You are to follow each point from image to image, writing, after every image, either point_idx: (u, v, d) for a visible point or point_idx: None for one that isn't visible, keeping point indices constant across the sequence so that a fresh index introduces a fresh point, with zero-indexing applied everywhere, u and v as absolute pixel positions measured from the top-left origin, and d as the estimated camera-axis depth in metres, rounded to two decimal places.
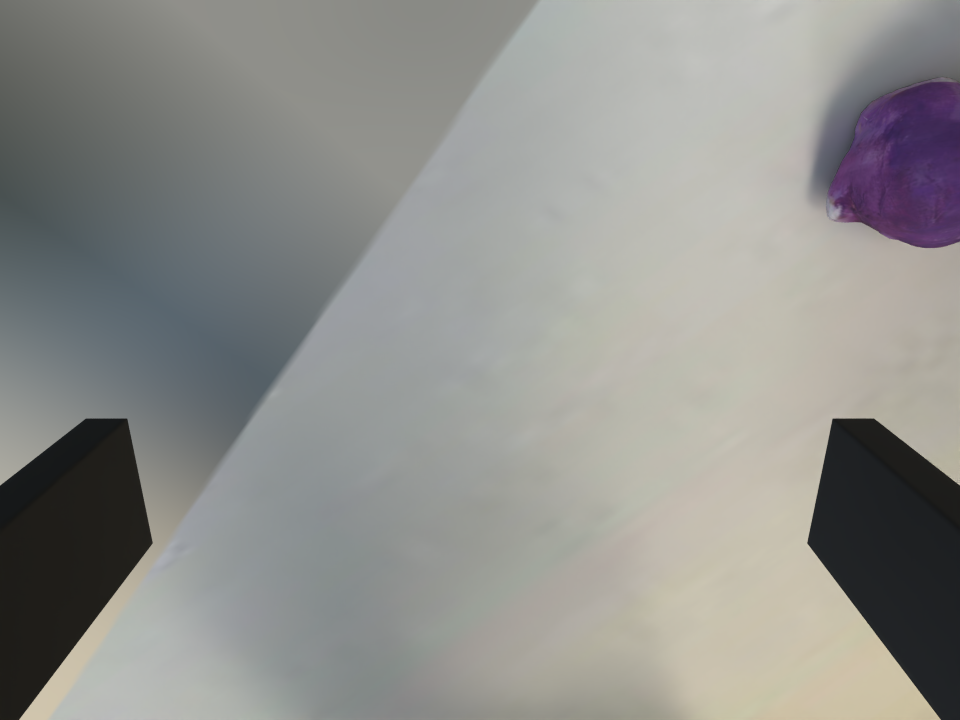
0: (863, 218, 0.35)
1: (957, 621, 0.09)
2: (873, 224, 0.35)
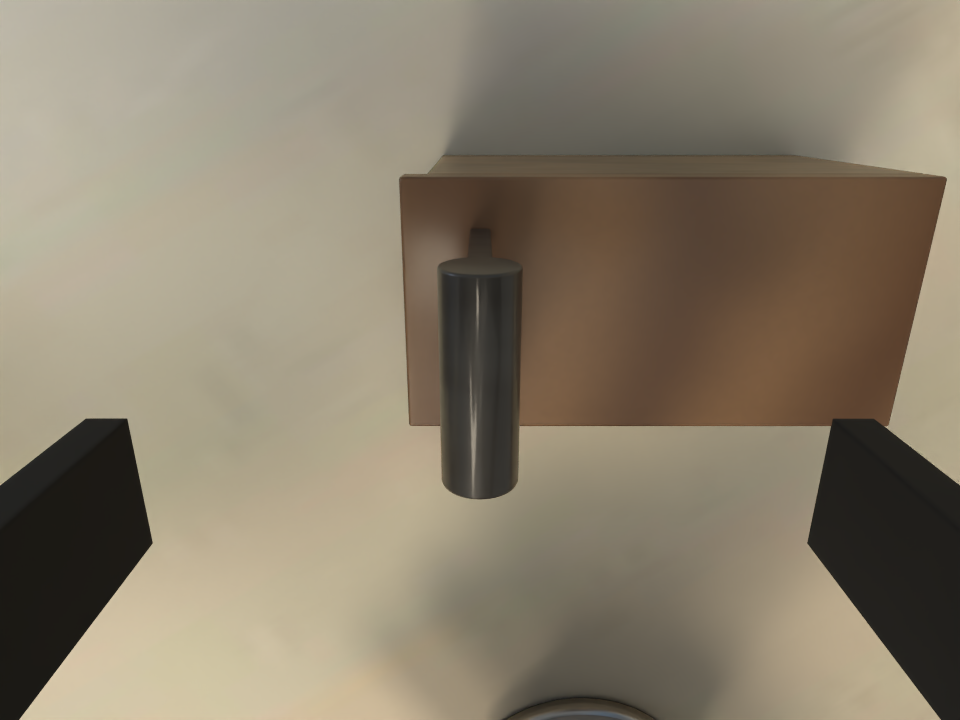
0: None
1: (957, 621, 0.09)
2: None
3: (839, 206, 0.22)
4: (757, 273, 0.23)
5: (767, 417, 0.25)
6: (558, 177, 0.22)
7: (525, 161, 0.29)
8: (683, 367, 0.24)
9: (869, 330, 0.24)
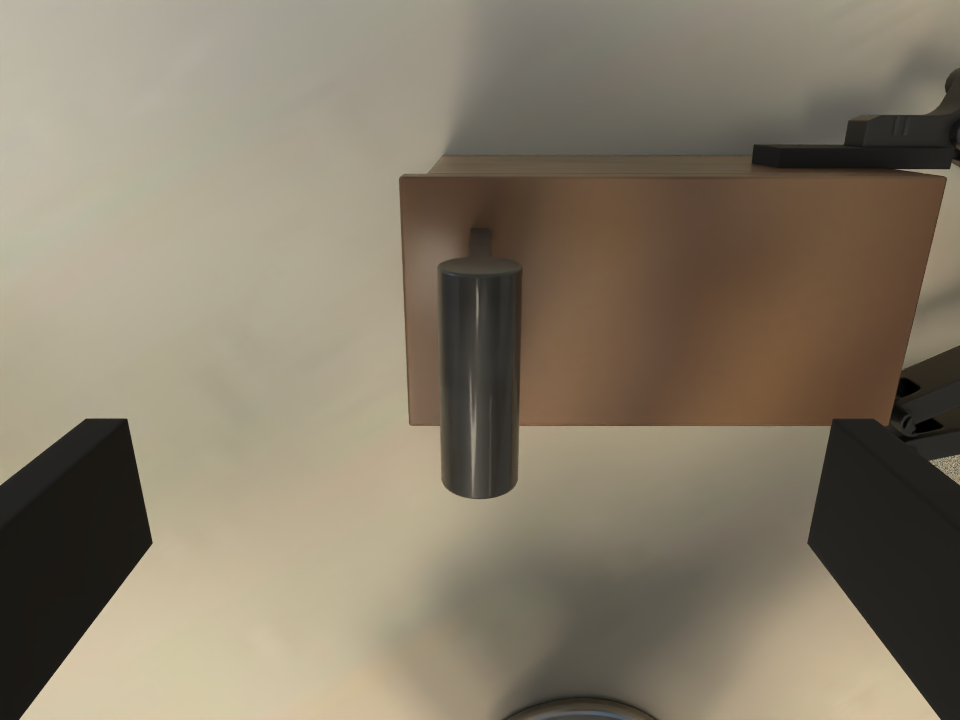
0: None
1: (957, 621, 0.09)
2: None
3: (839, 206, 0.22)
4: (757, 273, 0.23)
5: (767, 417, 0.25)
6: (558, 177, 0.22)
7: (525, 161, 0.29)
8: (684, 367, 0.24)
9: (869, 329, 0.24)
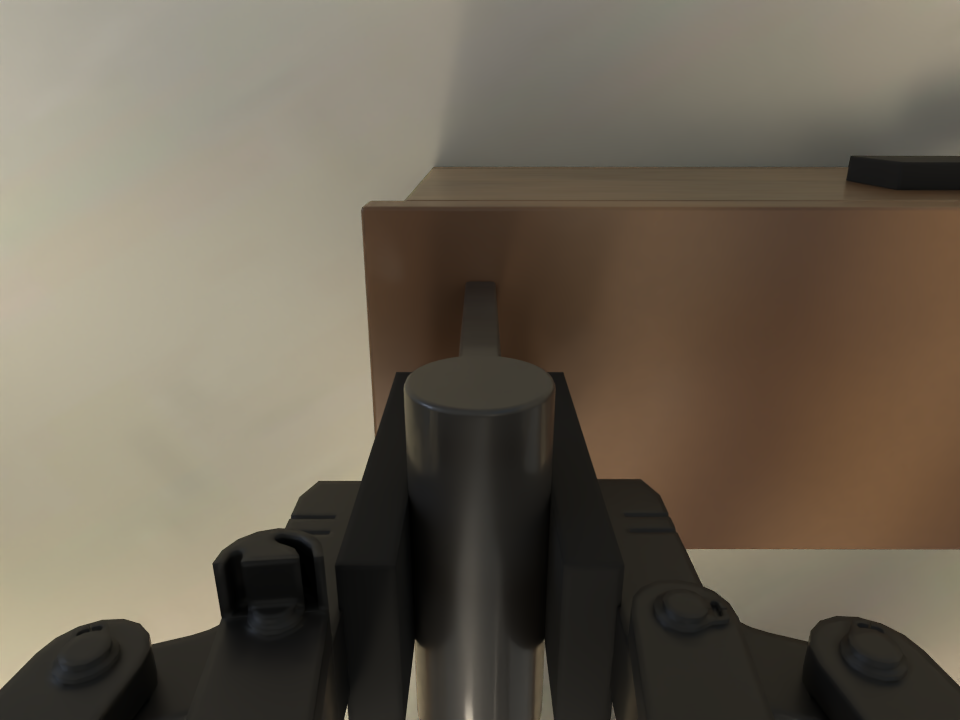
0: None
1: None
2: None
3: None
4: (881, 344, 0.16)
5: (882, 538, 0.18)
6: (596, 207, 0.15)
7: (541, 177, 0.22)
8: (768, 472, 0.17)
9: None
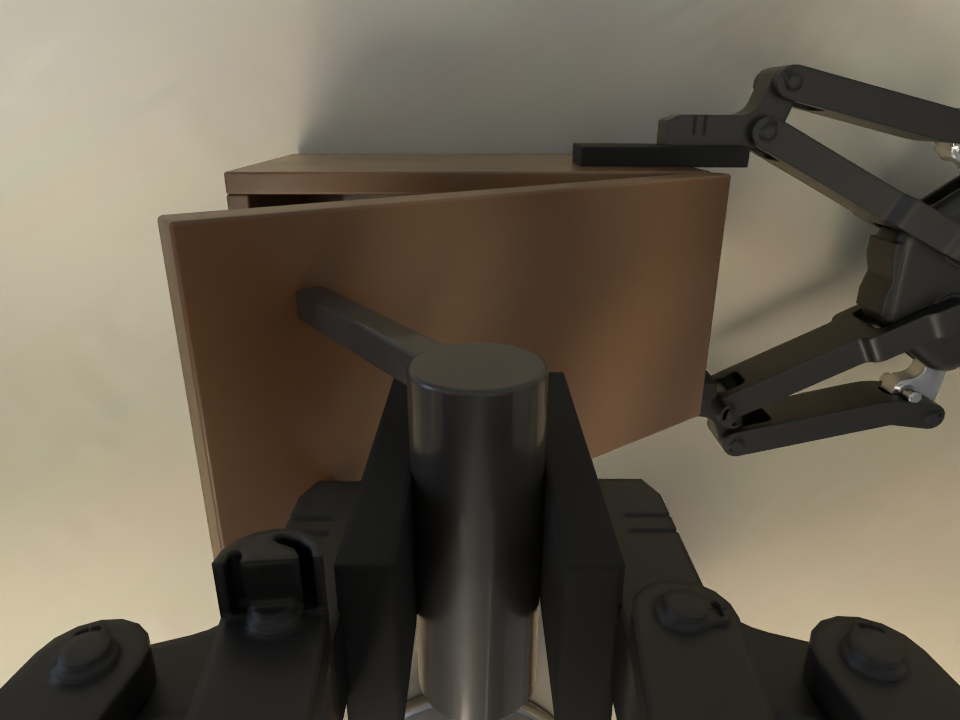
0: None
1: None
2: None
3: (664, 210, 0.21)
4: (606, 291, 0.21)
5: (619, 438, 0.23)
6: (405, 202, 0.16)
7: (356, 160, 0.29)
8: None
9: (687, 329, 0.24)
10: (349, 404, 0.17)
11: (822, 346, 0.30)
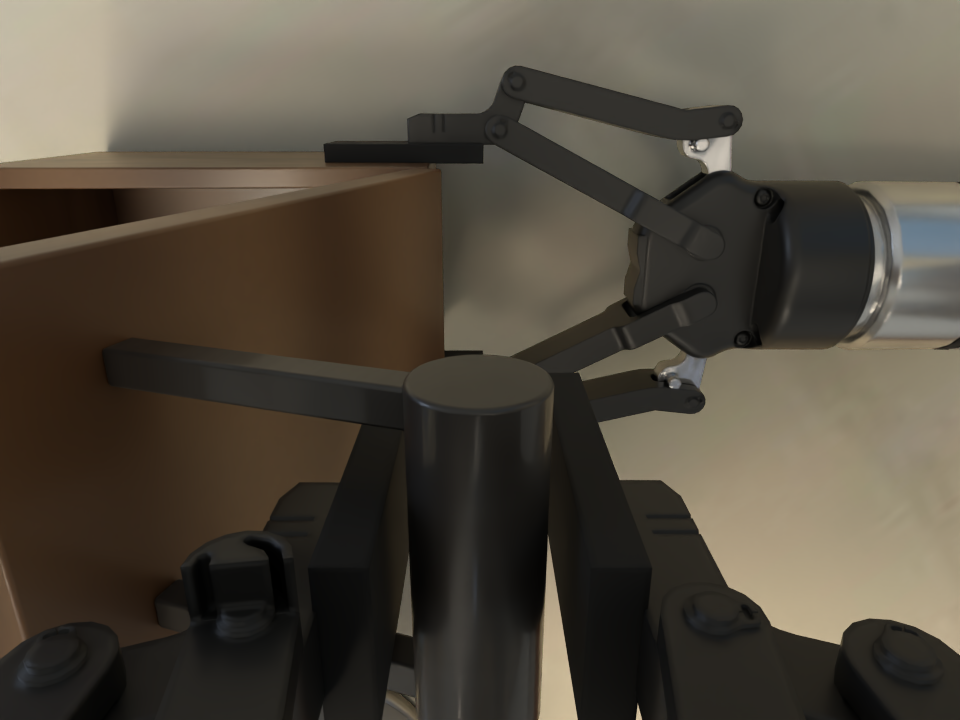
0: None
1: None
2: None
3: (404, 207, 0.22)
4: (375, 293, 0.20)
5: None
6: (202, 220, 0.13)
7: None
8: (348, 426, 0.20)
9: (430, 319, 0.25)
10: (176, 479, 0.13)
11: (584, 334, 0.31)
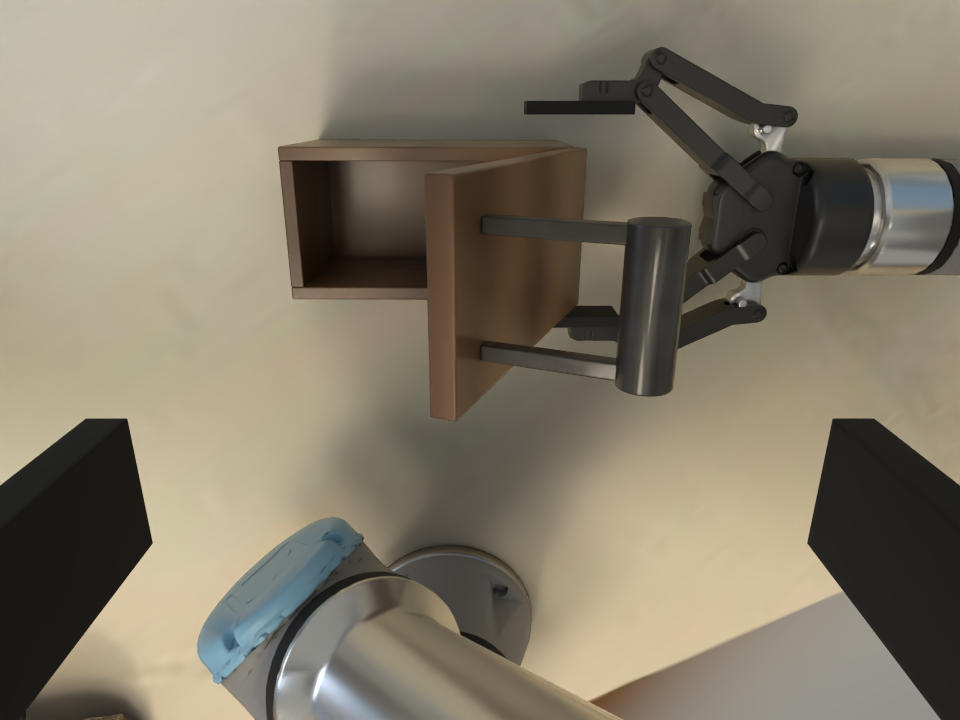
0: None
1: (957, 621, 0.09)
2: None
3: (570, 170, 0.35)
4: None
5: (557, 317, 0.37)
6: (507, 164, 0.27)
7: (360, 142, 0.44)
8: (540, 297, 0.33)
9: (575, 246, 0.39)
10: (490, 289, 0.27)
11: None
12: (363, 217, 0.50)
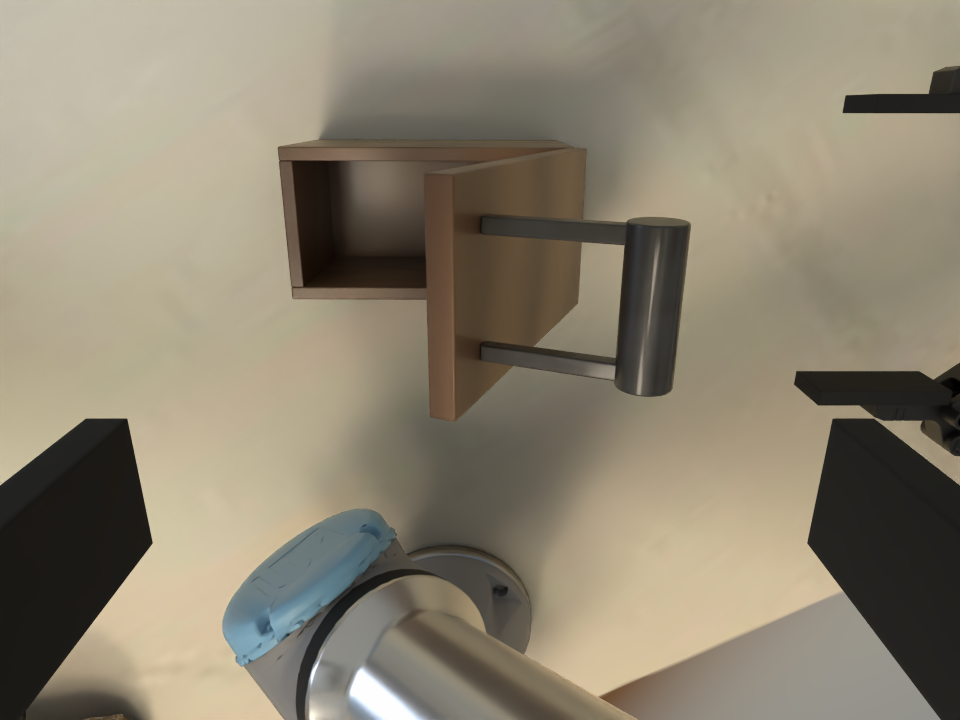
0: None
1: (957, 621, 0.09)
2: None
3: (570, 170, 0.35)
4: None
5: (557, 318, 0.37)
6: (506, 164, 0.27)
7: (360, 142, 0.44)
8: (539, 297, 0.33)
9: (575, 246, 0.39)
10: (490, 289, 0.27)
11: None
12: (363, 217, 0.50)
